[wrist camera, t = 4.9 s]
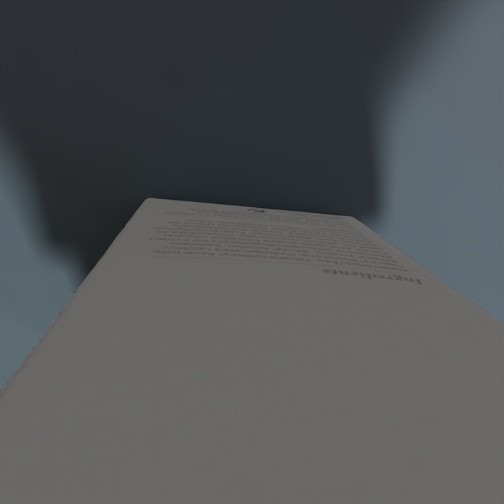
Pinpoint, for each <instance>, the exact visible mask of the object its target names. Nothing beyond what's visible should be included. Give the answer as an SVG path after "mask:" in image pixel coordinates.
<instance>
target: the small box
mask: <svg viewBox="0 0 504 504" xmlns="http://www.w3.org/2000/svg"><path fill="white" fill-rule="evenodd" d="M0 504H504V324H503V323H502V322H500V321H499V320H498V319H496V318H495V317H493V316H492V315H491V314H489V313H488V312H486V311H485V310H483V309H482V308H480V307H479V306H478V305H476V304H475V303H473V302H472V301H470V300H469V299H467V298H466V297H464V296H463V295H462V294H460V293H459V292H458V291H457V290H455V289H454V288H452V287H451V286H449V285H447V284H446V283H444V282H443V281H442V280H440V279H439V278H438V277H436V276H435V275H433V274H432V273H430V272H429V271H428V270H426V269H425V268H424V267H423V266H421V265H420V264H419V263H417V262H416V261H414V260H413V259H411V258H410V257H409V256H407V255H406V254H404V253H403V252H402V251H400V250H399V249H398V248H396V247H395V246H393V245H392V244H390V243H389V242H388V241H386V240H385V239H383V238H382V237H381V236H379V235H378V234H377V233H375V232H374V231H372V230H371V229H370V228H368V227H367V226H365V225H364V224H363V223H361V222H360V221H359V220H357V219H356V218H354V217H352V216H340V215H328V214H318V213H308V212H297V211H286V210H275V209H265V208H254V207H244V206H234V205H223V204H212V203H201V202H189V201H178V200H166V199H157V198H147V199H146V200H145V201H144V202H143V203H142V205H141V206H140V207H139V209H138V210H137V211H136V212H135V214H134V215H133V216H132V218H131V219H130V220H129V222H128V223H127V224H126V226H125V227H124V229H123V230H122V231H121V232H120V233H119V234H118V236H117V237H116V238H115V240H114V241H113V243H112V244H111V245H110V247H109V248H108V250H107V251H106V252H105V254H104V255H103V256H102V258H101V259H100V260H99V261H98V263H97V264H96V266H95V267H94V268H93V270H92V271H91V272H90V273H89V275H88V276H87V277H86V279H85V280H84V281H83V282H82V284H81V285H80V286H79V288H78V289H77V291H76V292H75V294H74V295H73V296H72V297H71V298H70V300H69V301H68V302H67V303H66V305H65V306H64V308H63V309H62V311H61V312H60V313H59V315H58V316H57V317H56V318H55V319H54V320H53V322H52V323H51V324H50V326H49V327H48V328H47V330H46V331H45V333H44V334H43V335H42V337H41V338H40V339H39V341H38V342H37V344H36V345H35V346H34V348H33V349H32V350H31V352H30V353H29V354H28V355H27V357H26V358H25V359H24V361H23V362H22V363H21V364H20V366H19V367H18V368H17V369H16V371H15V372H14V373H13V375H12V376H11V377H10V378H9V380H8V381H7V382H6V384H5V385H4V386H3V387H2V389H1V390H0Z"/></svg>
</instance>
